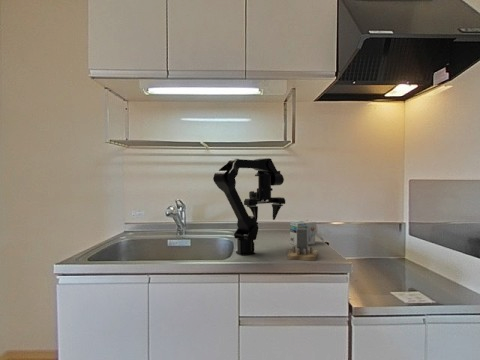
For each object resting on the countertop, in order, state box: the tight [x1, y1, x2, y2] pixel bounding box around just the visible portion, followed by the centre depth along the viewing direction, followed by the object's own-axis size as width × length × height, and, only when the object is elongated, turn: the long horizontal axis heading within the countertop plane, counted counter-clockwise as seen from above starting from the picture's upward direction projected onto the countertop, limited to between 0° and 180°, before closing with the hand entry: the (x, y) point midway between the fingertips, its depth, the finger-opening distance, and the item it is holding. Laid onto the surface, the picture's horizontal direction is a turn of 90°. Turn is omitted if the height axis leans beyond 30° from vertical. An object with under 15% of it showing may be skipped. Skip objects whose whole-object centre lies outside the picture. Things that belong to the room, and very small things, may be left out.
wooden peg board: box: [286, 245, 318, 261], centre depth 152 cm, size 11×12×4 cm
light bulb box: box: [289, 219, 316, 246], centre depth 179 cm, size 11×7×11 cm, turn 115°
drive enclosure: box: [296, 228, 309, 254], centre depth 152 cm, size 4×5×10 cm
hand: (265, 220), depth 167 cm, fingers open, 9 cm apart
